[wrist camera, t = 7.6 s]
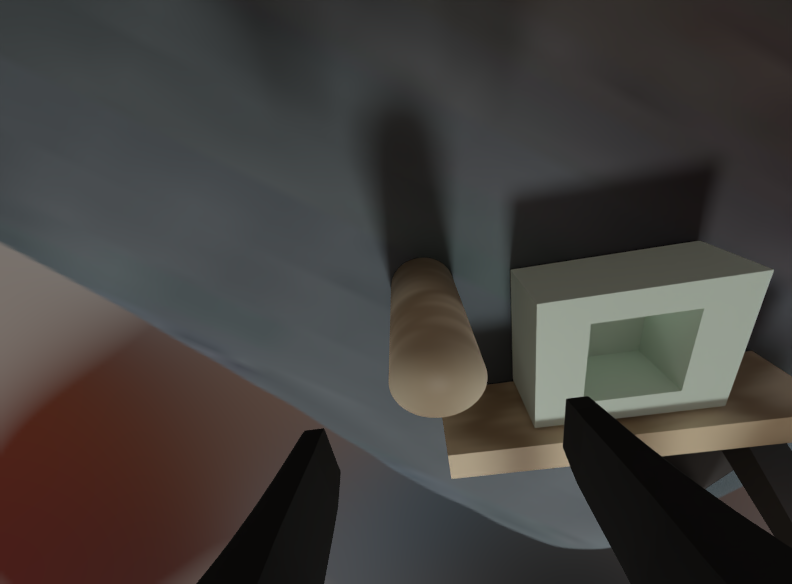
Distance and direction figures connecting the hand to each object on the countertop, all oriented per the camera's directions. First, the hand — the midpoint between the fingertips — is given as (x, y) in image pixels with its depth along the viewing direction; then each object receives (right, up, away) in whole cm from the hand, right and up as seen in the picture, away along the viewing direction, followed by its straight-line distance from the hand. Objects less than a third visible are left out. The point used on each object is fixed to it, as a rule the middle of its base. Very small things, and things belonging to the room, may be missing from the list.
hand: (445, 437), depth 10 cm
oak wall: (+11, -2, +12) cm, 17 cm away
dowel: (0, +5, +9) cm, 10 cm away
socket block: (+10, +3, +10) cm, 15 cm away
